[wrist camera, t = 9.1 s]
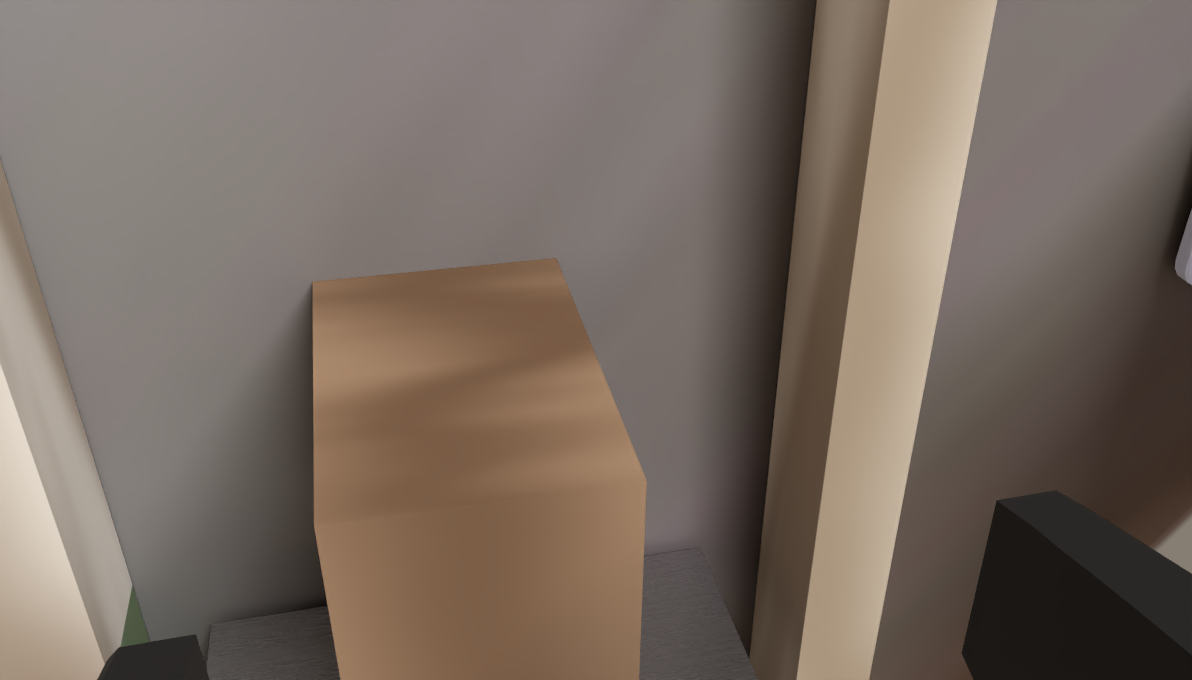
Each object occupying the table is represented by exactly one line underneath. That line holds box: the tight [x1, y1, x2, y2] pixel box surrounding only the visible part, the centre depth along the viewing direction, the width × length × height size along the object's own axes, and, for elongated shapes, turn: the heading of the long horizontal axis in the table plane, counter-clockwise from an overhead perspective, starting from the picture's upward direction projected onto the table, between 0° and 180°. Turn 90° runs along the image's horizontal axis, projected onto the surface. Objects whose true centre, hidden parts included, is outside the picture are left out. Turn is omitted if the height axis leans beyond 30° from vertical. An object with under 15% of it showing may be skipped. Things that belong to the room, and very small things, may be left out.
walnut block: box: [313, 258, 647, 680], centre depth 17 cm, size 4×4×6 cm
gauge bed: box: [0, 0, 997, 680], centre depth 17 cm, size 17×28×5 cm, turn 1°
